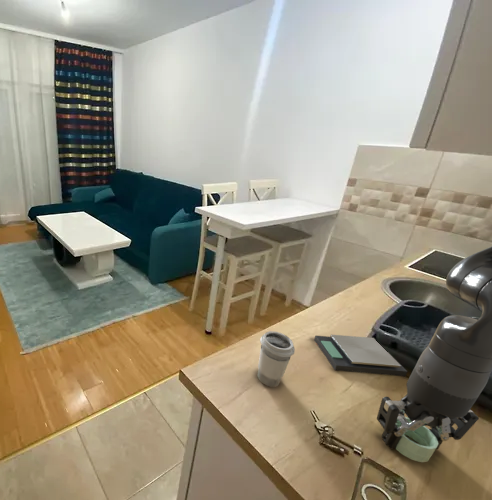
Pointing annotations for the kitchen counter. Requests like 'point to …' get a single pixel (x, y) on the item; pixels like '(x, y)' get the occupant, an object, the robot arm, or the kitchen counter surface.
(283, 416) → the kitchen counter surface
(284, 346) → the cup
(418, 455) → the bowl
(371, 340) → the scale pan
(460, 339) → the robot arm
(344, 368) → the scale
